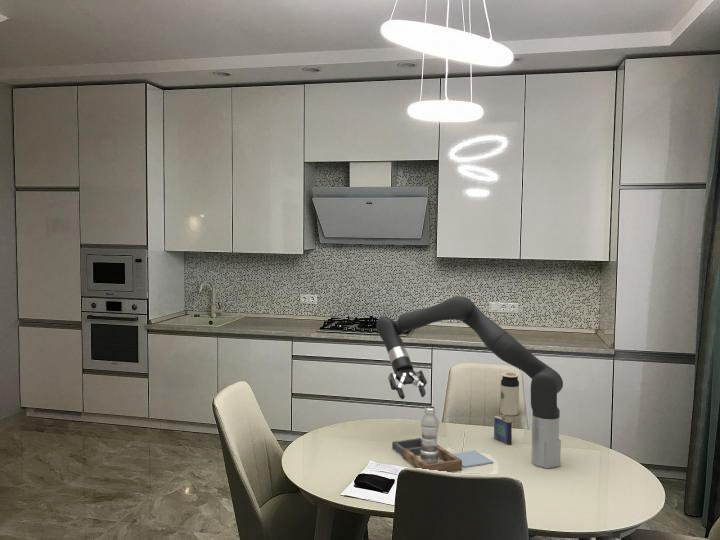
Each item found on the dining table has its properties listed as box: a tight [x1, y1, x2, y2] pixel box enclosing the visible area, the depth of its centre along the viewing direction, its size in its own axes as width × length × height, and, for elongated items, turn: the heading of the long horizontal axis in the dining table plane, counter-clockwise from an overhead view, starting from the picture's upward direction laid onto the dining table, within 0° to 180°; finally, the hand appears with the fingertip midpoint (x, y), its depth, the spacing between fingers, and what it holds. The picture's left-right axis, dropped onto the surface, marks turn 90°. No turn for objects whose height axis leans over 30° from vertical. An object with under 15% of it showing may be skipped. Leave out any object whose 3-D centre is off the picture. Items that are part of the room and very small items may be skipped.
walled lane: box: [402, 444, 463, 473], centre depth 216 cm, size 18×14×4 cm
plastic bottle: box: [419, 405, 440, 464], centre depth 217 cm, size 6×7×20 cm
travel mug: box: [500, 372, 520, 417], centre depth 277 cm, size 8×8×18 cm
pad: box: [452, 450, 494, 469], centre depth 221 cm, size 12×12×1 cm
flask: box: [493, 414, 513, 446], centre depth 240 cm, size 9×3×11 cm, turn 28°
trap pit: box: [391, 437, 422, 457], centre depth 230 cm, size 10×12×2 cm
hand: (413, 397), depth 228 cm, fingers open, 8 cm apart
